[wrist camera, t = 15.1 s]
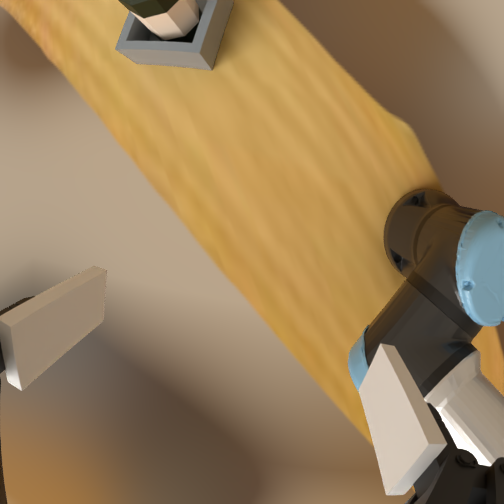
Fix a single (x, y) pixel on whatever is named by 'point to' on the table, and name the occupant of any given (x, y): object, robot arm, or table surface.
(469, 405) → the robot arm
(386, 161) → the table surface
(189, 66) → the bottle stand
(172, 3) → the wine bottle
